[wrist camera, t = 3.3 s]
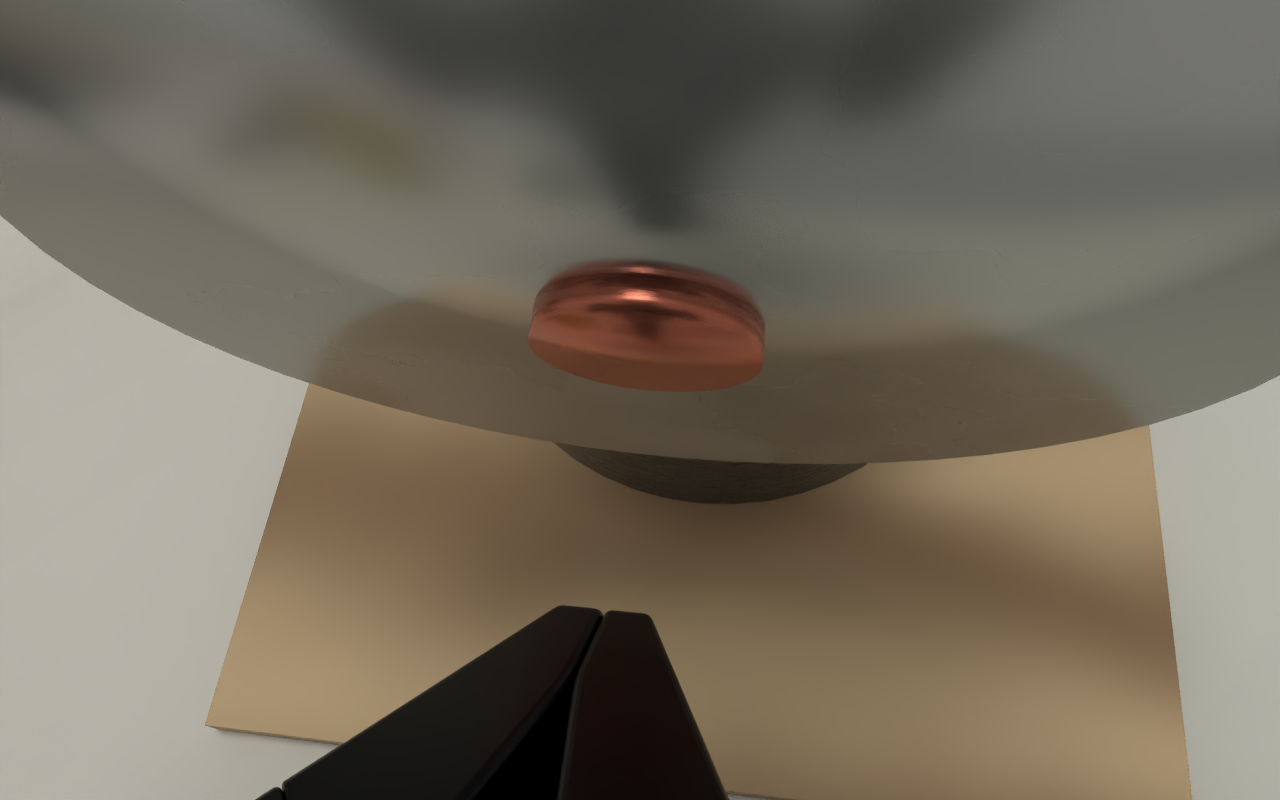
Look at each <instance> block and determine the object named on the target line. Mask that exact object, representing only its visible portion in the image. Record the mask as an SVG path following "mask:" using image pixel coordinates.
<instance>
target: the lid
mask: <svg viewBox="0 0 1280 800" xmlns="http://www.w3.org/2000/svg"><path fill="white" fill-rule="evenodd" d="M0 215H1V216H2V217H3V218H4V219H5V220H7V221H8V222H9V223H10V224H11V225H12V226H14V227H15V228H16V229H17V230H18V231H20V232H21V233H22V234H23V235H24V236H26V237H27V238H28V239H29V240H30V241H32V242H33V243H34V244H35V245H36V246H38V247H39V248H40V249H41V250H42V251H44V252H45V253H46V254H48V255H49V256H51V257H52V258H54V259H55V260H57V261H58V262H60V263H61V264H63V265H64V266H65V267H67V268H68V269H70V270H71V271H73V272H74V273H76V274H77V275H79V276H80V277H81V278H83V279H84V280H86V281H87V282H89V283H90V284H92V285H94V286H96V287H97V288H99V289H101V290H103V291H104V292H106V293H108V294H109V295H111V296H113V297H115V298H116V299H118V300H120V301H122V302H123V303H125V304H127V305H129V306H130V307H132V308H134V309H135V310H137V311H139V312H141V313H143V314H145V315H147V316H149V317H151V318H153V319H155V320H157V321H159V322H161V323H163V324H165V325H167V326H169V327H171V328H173V329H175V330H177V331H179V332H181V333H183V334H185V335H188V336H190V337H192V338H195V339H197V340H199V341H202V342H204V343H206V344H209V345H211V346H213V347H215V348H218V349H220V350H222V351H225V352H227V353H229V354H232V355H234V356H236V357H239V358H242V359H244V360H247V361H250V362H252V363H255V364H258V365H260V366H263V367H265V368H268V369H271V370H273V371H276V372H279V373H281V374H284V375H287V376H290V377H293V378H296V379H299V380H302V381H305V382H308V383H311V384H314V385H317V386H320V387H323V388H326V389H329V390H332V391H335V392H338V393H342V394H345V395H349V396H352V397H355V398H359V399H362V400H366V401H369V402H373V403H376V404H380V405H383V406H386V407H390V408H394V409H398V410H402V411H406V412H410V413H414V414H418V415H422V416H426V417H430V418H434V419H438V420H443V421H447V422H452V423H456V424H461V425H465V426H470V427H474V428H479V429H483V430H489V431H494V432H499V433H505V434H510V435H515V436H520V437H526V438H531V439H537V440H543V441H550V442H556V443H562V444H569V445H575V446H581V447H589V448H596V449H604V450H612V451H620V452H628V453H636V454H647V455H657V456H667V457H677V458H689V459H703V460H718V461H732V462H757V463H783V464H853V463H889V462H907V461H924V460H939V459H950V458H961V457H971V456H982V455H991V454H998V453H1006V452H1013V451H1021V450H1028V449H1035V448H1042V447H1048V446H1053V445H1059V444H1064V443H1070V442H1075V441H1080V440H1086V439H1091V438H1096V437H1101V436H1105V435H1109V434H1113V433H1117V432H1122V431H1126V430H1130V429H1134V428H1138V427H1142V426H1147V425H1150V424H1153V423H1157V422H1160V421H1163V420H1167V419H1170V418H1173V417H1176V416H1180V415H1183V414H1186V413H1190V412H1193V411H1196V410H1199V409H1202V408H1205V407H1207V406H1210V405H1212V404H1215V403H1218V402H1220V401H1223V400H1225V399H1228V398H1230V397H1233V396H1236V395H1238V394H1241V393H1243V392H1246V391H1248V390H1251V389H1253V388H1255V387H1257V386H1259V385H1261V384H1263V383H1265V382H1267V381H1269V380H1271V379H1273V378H1275V377H1277V376H1279V375H1280V0H0Z"/></svg>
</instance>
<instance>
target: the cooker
mask: <svg viewBox="0 0 1280 800" xmlns="http://www.w3.org/2000/svg"><path fill="white" fill-rule="evenodd" d="M553 443H555V444H556V445H557V446H558V447H560V448H561V449H562V450H563V451H565V452H566V453H567V454H569V455H570V456H571V457H572V458H574V459H575V460H576V461H578V462H580V463H581V464H583V465H585V466H587V467H588V468H590V469H592V470H593V471H595V472H597V473H598V474H600V475H602V476H604V477H606V478H608V479H611V480H613V481H615V482H618V483H620V484H623V485H625V486H627V487H630V488H632V489H635V490H638V491H642V492H646V493H649V494H653V495H656V496H660V497H663V498H668V499H675V500H681V501H688V502H694V503H709V504H741V503H751V502H762V501H770V500H774V499H779V498H783V497H788V496H792V495H797V494H801V493H804V492H807V491H810V490H813V489H816V488H818V487H821V486H824V485H827V484H829V483H832V482H835V481H837V480H839V479H841V478H842V477H844V476H846V475H848V474H850V473H852V472H854V471H856V470H858V469H860V468H862V467H864V466H865V465H867V464H868V463H853V464H783V463H757V462H732V461H718V460H703V459H689V458H677V457H667V456H657V455H647V454H636V453H628V452H620V451H612V450H604V449H596V448H589V447H581V446H575V445H569V444H562V443H556V442H553Z"/></svg>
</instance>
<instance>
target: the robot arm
mask: <svg viewBox="0 0 1280 800" xmlns="http://www.w3.org/2000/svg"><path fill="white" fill-rule="evenodd" d="M255 800H729V798H728V796H727V793H726V791H725V789H724V786H723V784H722V782H721V779H720V777H719V775H718V772H717V770H716V767H715V765H714V763H713V760H712V758H711V756H710V753H709V751H708V749H707V746H706V744H705V742H704V739H703V737H702V735H701V732H700V730H699V728H698V725H697V723H696V721H695V718H694V716H693V714H692V711H691V709H690V706H689V704H688V702H687V699H686V697H685V695H684V692H683V690H682V688H681V685H680V683H679V681H678V678H677V676H676V674H675V671H674V669H673V667H672V664H671V662H670V660H669V657H668V655H667V653H666V650H665V648H664V646H663V643H662V641H661V638H660V636H659V634H658V631H657V629H656V627H655V624H654V622H653V620H652V618H651V617H650V616H649V615H648V614H645V613H636V612H626V611H616V610H610V611H607V612H606V613H605V614H604V615H603V614H602V612H601V611H600V610H598V609H595V608H587V607H578V606H568V605H560V606H557V607H555V608H553V609H551V610H550V611H548V612H547V613H545V614H544V615H542V616H541V617H539V618H537V619H536V620H534V621H533V622H531V623H530V624H528V625H527V626H525V627H523V628H522V629H520V630H519V631H517V632H516V633H514V634H513V635H511V636H509V637H508V638H506V639H505V640H503V641H502V642H500V643H499V644H497V645H495V646H494V647H492V648H491V649H489V650H488V651H486V652H485V653H483V654H481V655H480V656H478V657H477V658H475V659H474V660H472V661H471V662H469V663H467V664H466V665H464V666H463V667H461V668H460V669H458V670H457V671H455V672H453V673H452V674H450V675H449V676H447V677H446V678H444V679H443V680H441V681H439V682H438V683H436V684H435V685H433V686H432V687H430V688H429V689H427V690H425V691H424V692H422V693H421V694H419V695H418V696H416V697H415V698H413V699H411V700H410V701H408V702H407V703H405V704H404V705H402V706H401V707H399V708H397V709H396V710H394V711H393V712H391V713H390V714H388V715H387V716H385V717H383V718H382V719H380V720H379V721H377V722H376V723H374V724H373V725H371V726H369V727H368V728H366V729H365V730H363V731H362V732H360V733H359V734H357V735H355V736H354V737H352V738H351V739H349V740H348V741H346V742H345V743H343V744H341V745H340V746H338V747H337V748H335V749H334V750H332V751H330V752H329V753H327V754H326V755H324V756H323V757H321V758H320V759H318V760H316V761H315V762H313V763H312V764H310V765H309V766H307V767H306V768H304V769H302V770H301V771H299V772H298V773H296V774H295V775H293V776H292V777H290V778H288V779H287V780H285V781H284V782H283V784H282V790H281V789H280V788H279V787H275V788H272V789H271V790H269V791H268V792H266V793H265V794H263V795H261V796H260V797H258V798H257V799H255Z"/></svg>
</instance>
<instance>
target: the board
mask: <svg viewBox="0 0 1280 800" xmlns="http://www.w3.org/2000/svg"><path fill="white" fill-rule="evenodd" d="M560 605H568V606H578V607H587V608H595V609H598V610H600V611H601V612H602V614H603V615H604V614H605V613H606V612H607V611H610V610H616V611H626V612H636V613H645V614H648V615H649V616H650V617H651V618H652V620H653V622H654V624H655V627H656V629H657V631H658V634H659V636H660V638H661V641H662V643H663V646H664V648H665V650H666V653H667V655H668V657H669V660H670V662H671V664H672V667H673V669H674V671H675V674H676V676H677V678H678V681H679V683H680V685H681V688H682V690H683V692H684V695H685V697H686V699H687V702H688V704H689V706H690V709H691V711H692V714H693V716H694V718H695V721H696V723H697V725H698V728H699V730H700V732H701V735H702V737H703V739H704V742H705V744H706V746H707V749H708V751H709V753H710V756H711V758H712V760H713V763H714V765H715V767H716V770H717V772H718V775H719V777H720V779H721V782H722V784H723V786H724V789H725V791H726V793H729V794H737V795H745V796H753V797H761V798H769V799H777V800H1192V794H1191V785H1190V777H1189V768H1188V759H1187V751H1186V742H1185V733H1184V725H1183V716H1182V707H1181V698H1180V690H1179V681H1178V672H1177V664H1176V655H1175V646H1174V638H1173V629H1172V620H1171V612H1170V603H1169V594H1168V586H1167V577H1166V568H1165V560H1164V551H1163V542H1162V534H1161V525H1160V516H1159V508H1158V499H1157V490H1156V482H1155V473H1154V464H1153V456H1152V447H1151V438H1150V430H1149V425H1147V426H1142V427H1138V428H1134V429H1130V430H1126V431H1122V432H1117V433H1113V434H1109V435H1105V436H1101V437H1096V438H1091V439H1086V440H1080V441H1075V442H1070V443H1064V444H1059V445H1053V446H1048V447H1042V448H1035V449H1028V450H1021V451H1013V452H1006V453H998V454H991V455H982V456H971V457H961V458H950V459H939V460H924V461H907V462H889V463H868V464H867V465H865V466H864V467H862V468H860V469H858V470H856V471H854V472H852V473H850V474H848V475H846V476H844V477H842V478H841V479H839V480H837V481H835V482H832V483H829V484H827V485H824V486H821V487H818V488H816V489H813V490H810V491H807V492H804V493H801V494H797V495H792V496H788V497H783V498H779V499H774V500H770V501H762V502H751V503H741V504H709V503H694V502H688V501H681V500H675V499H668V498H663V497H660V496H656V495H653V494H649V493H646V492H642V491H638V490H635V489H632V488H630V487H627V486H625V485H623V484H620V483H618V482H615V481H613V480H611V479H608V478H606V477H604V476H602V475H600V474H598V473H597V472H595V471H593V470H592V469H590V468H588V467H587V466H585V465H583V464H581V463H580V462H578V461H576V460H575V459H574V458H572V457H571V456H570V455H569V454H567V453H566V452H565V451H563V450H562V449H561V448H560V447H558V446H557V445H556V444H555V443H553V442H550V441H543V440H537V439H531V438H526V437H520V436H515V435H510V434H505V433H499V432H494V431H489V430H483V429H479V428H474V427H470V426H465V425H461V424H456V423H452V422H447V421H443V420H438V419H434V418H430V417H426V416H422V415H418V414H414V413H410V412H406V411H402V410H398V409H394V408H390V407H386V406H383V405H380V404H376V403H373V402H369V401H366V400H362V399H359V398H355V397H352V396H349V395H345V394H342V393H338V392H335V391H332V390H329V389H326V388H323V387H320V386H317V385H314V384H311V383H309V386H308V389H307V392H306V395H305V399H304V402H303V405H302V409H301V412H300V415H299V418H298V422H297V425H296V428H295V432H294V435H293V438H292V441H291V445H290V448H289V451H288V454H287V458H286V461H285V464H284V468H283V471H282V474H281V477H280V481H279V484H278V487H277V490H276V494H275V497H274V500H273V504H272V507H271V510H270V513H269V517H268V520H267V523H266V527H265V530H264V533H263V536H262V540H261V543H260V546H259V549H258V553H257V556H256V559H255V563H254V566H253V569H252V572H251V576H250V579H249V582H248V586H247V589H246V592H245V595H244V599H243V602H242V605H241V608H240V612H239V615H238V618H237V622H236V625H235V628H234V631H233V635H232V638H231V641H230V644H229V648H228V651H227V654H226V658H225V661H224V664H223V667H222V671H221V674H220V677H219V681H218V684H217V687H216V690H215V694H214V697H213V700H212V703H211V707H210V710H209V713H208V717H207V720H206V723H205V725H206V726H209V727H212V728H216V729H220V730H228V731H236V732H244V733H252V734H260V735H268V736H276V737H284V738H292V739H300V740H308V741H316V742H324V743H332V744H340V745H341V744H343V743H345V742H346V741H348V740H349V739H351V738H352V737H354V736H355V735H357V734H359V733H360V732H362V731H363V730H365V729H366V728H368V727H369V726H371V725H373V724H374V723H376V722H377V721H379V720H380V719H382V718H383V717H385V716H387V715H388V714H390V713H391V712H393V711H394V710H396V709H397V708H399V707H401V706H402V705H404V704H405V703H407V702H408V701H410V700H411V699H413V698H415V697H416V696H418V695H419V694H421V693H422V692H424V691H425V690H427V689H429V688H430V687H432V686H433V685H435V684H436V683H438V682H439V681H441V680H443V679H444V678H446V677H447V676H449V675H450V674H452V673H453V672H455V671H457V670H458V669H460V668H461V667H463V666H464V665H466V664H467V663H469V662H471V661H472V660H474V659H475V658H477V657H478V656H480V655H481V654H483V653H485V652H486V651H488V650H489V649H491V648H492V647H494V646H495V645H497V644H499V643H500V642H502V641H503V640H505V639H506V638H508V637H509V636H511V635H513V634H514V633H516V632H517V631H519V630H520V629H522V628H523V627H525V626H527V625H528V624H530V623H531V622H533V621H534V620H536V619H537V618H539V617H541V616H542V615H544V614H545V613H547V612H548V611H550V610H551V609H553V608H555V607H557V606H560Z"/></svg>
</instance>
